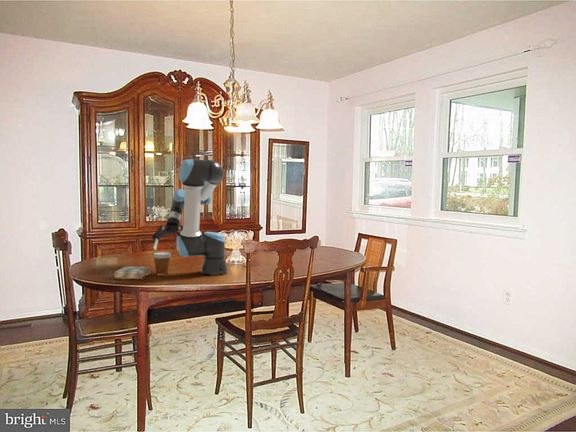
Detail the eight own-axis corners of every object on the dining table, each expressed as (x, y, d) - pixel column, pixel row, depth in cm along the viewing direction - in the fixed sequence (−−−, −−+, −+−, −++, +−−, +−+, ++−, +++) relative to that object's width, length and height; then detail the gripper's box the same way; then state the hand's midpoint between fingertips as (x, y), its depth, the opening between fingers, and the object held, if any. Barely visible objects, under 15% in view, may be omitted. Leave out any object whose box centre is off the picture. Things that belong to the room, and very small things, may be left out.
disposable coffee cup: (161, 277, 233) (161, 255, 231) (149, 274, 238) (149, 253, 236) (174, 273, 241) (174, 252, 240) (162, 271, 246) (162, 251, 244)
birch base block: (149, 274, 239) (149, 266, 239) (140, 280, 225) (140, 272, 225) (125, 273, 240) (125, 266, 240) (114, 279, 226) (114, 271, 226)
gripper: (195, 224, 262) (188, 253, 249) (155, 224, 263) (146, 252, 250) (192, 217, 256) (186, 246, 243) (152, 216, 258) (143, 245, 244)
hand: (166, 249), depth 247 cm, fingers open, 13 cm apart
